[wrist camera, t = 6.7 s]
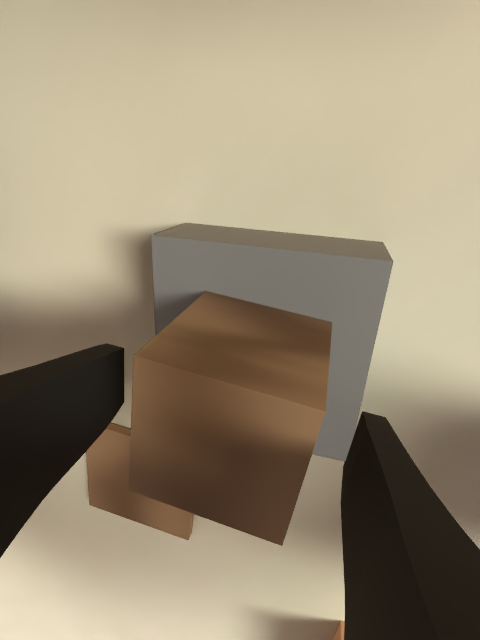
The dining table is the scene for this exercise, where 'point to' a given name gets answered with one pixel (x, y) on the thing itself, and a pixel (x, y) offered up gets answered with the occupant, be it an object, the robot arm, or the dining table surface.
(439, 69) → the dining table surface
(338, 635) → the terracotta block
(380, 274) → the base block
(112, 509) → the tile
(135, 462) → the walnut block
